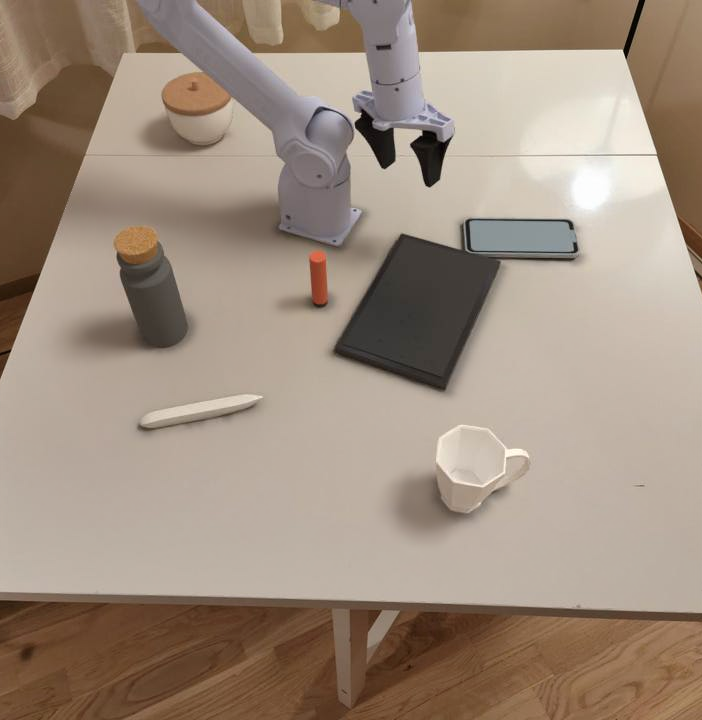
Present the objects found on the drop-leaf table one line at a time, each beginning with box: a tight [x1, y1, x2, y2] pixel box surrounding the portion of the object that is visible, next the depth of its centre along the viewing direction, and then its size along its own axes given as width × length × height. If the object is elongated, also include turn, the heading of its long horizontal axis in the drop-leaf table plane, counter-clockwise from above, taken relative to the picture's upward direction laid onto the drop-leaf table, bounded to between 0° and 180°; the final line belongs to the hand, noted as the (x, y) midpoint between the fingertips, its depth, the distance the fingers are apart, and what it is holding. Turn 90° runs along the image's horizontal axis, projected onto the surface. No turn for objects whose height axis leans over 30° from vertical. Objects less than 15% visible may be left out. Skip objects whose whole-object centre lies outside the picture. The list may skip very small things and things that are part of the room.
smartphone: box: [462, 217, 581, 259], centre depth 96 cm, size 7×1×15 cm
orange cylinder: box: [308, 250, 329, 309], centre depth 87 cm, size 2×2×8 cm
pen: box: [139, 393, 264, 429], centre depth 79 cm, size 2×14×2 cm, turn 102°
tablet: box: [334, 232, 502, 392], centre depth 89 cm, size 14×22×1 cm, turn 156°
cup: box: [434, 423, 531, 514], centre depth 70 cm, size 7×10×8 cm
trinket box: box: [160, 71, 234, 146], centre depth 110 cm, size 11×11×9 cm
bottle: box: [113, 225, 189, 349], centre depth 82 cm, size 6×6×15 cm
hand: (410, 173), depth 89 cm, fingers open, 7 cm apart
